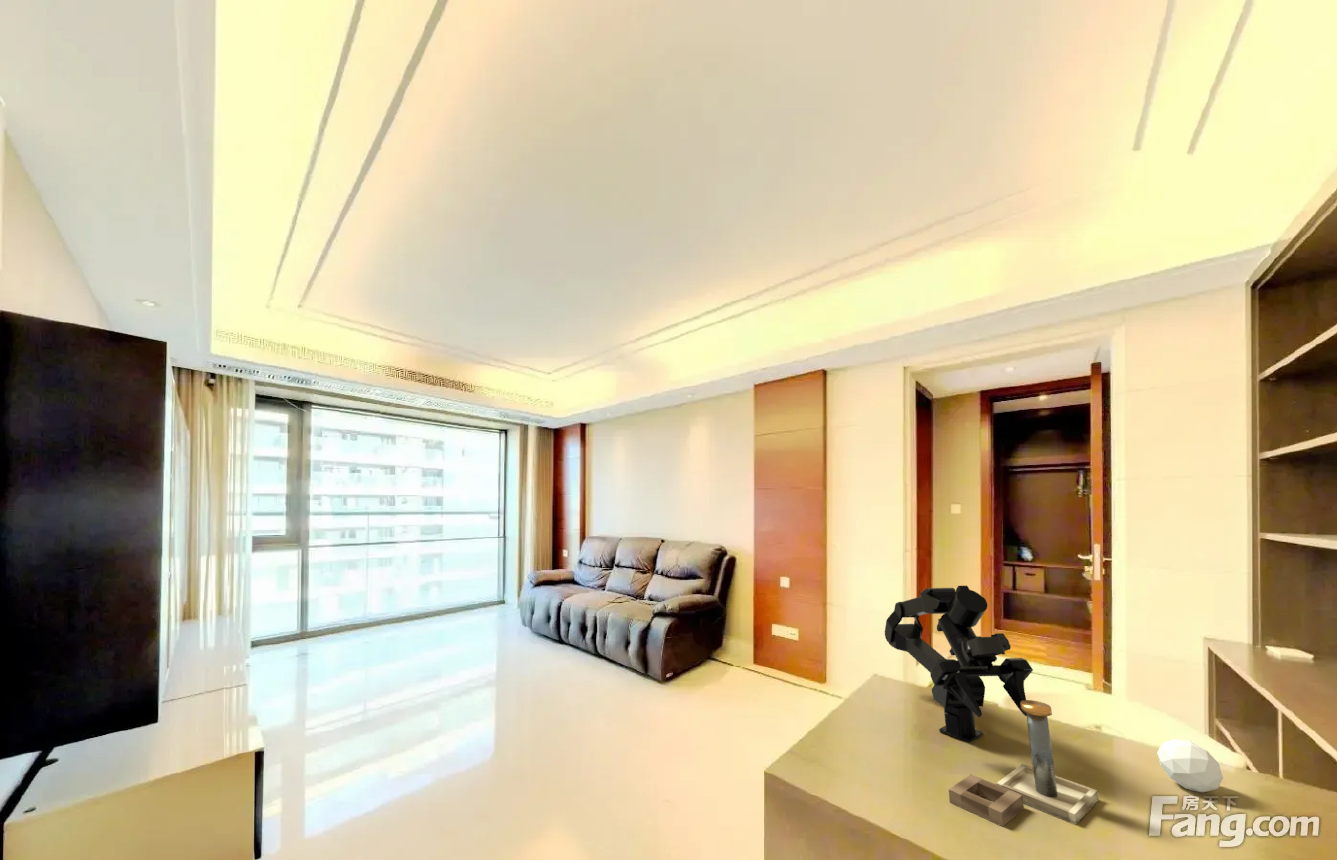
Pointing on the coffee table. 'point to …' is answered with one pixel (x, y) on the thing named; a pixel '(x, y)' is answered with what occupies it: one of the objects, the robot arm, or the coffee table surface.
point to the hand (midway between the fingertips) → (1004, 715)
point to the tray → (1065, 806)
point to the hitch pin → (1040, 746)
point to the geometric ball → (1190, 765)
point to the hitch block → (996, 811)
